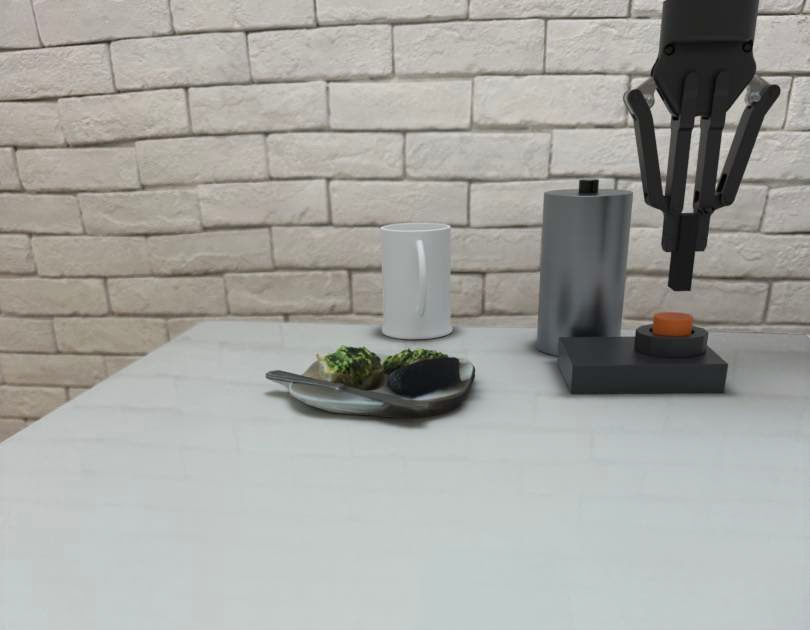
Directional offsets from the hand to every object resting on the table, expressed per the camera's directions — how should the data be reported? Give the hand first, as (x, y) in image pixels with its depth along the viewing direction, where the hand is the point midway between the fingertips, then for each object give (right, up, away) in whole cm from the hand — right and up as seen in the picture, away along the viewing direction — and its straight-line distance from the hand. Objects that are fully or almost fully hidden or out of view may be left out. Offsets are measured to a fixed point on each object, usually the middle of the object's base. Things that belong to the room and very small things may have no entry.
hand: (679, 288), depth 80 cm
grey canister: (-6, -2, +15) cm, 16 cm away
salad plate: (-27, -10, +1) cm, 29 cm away
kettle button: (0, -4, +2) cm, 4 cm away
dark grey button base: (-3, -8, +4) cm, 9 cm away
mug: (-24, +1, +22) cm, 33 cm away
